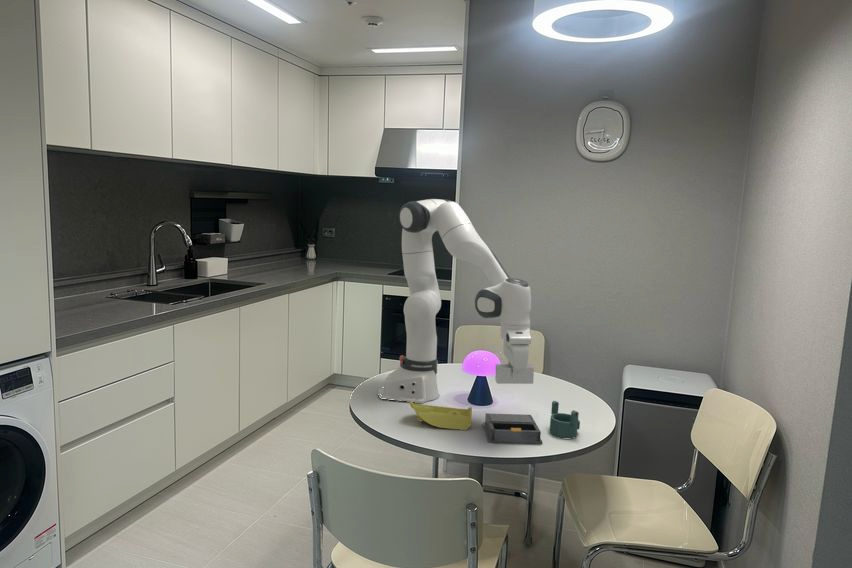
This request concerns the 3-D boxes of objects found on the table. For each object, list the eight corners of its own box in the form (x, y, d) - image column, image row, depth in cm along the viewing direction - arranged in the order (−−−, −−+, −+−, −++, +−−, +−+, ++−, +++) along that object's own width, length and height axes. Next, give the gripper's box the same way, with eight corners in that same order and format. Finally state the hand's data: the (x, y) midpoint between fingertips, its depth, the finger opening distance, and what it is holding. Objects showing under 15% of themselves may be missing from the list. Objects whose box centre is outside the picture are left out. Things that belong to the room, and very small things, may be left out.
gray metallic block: (497, 383, 168) (497, 367, 167) (495, 380, 172) (495, 364, 171) (533, 383, 168) (533, 367, 168) (530, 380, 172) (531, 364, 171)
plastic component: (468, 409, 185) (472, 406, 175) (466, 432, 182) (470, 430, 173) (409, 403, 184) (410, 400, 175) (406, 426, 182) (407, 424, 172)
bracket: (575, 441, 168) (578, 412, 167) (545, 435, 172) (547, 407, 170) (580, 431, 176) (582, 404, 175) (551, 425, 180) (553, 399, 179)
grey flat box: (488, 442, 164) (489, 428, 163) (482, 424, 178) (483, 411, 177) (542, 444, 164) (543, 430, 164) (532, 426, 178) (533, 413, 178)
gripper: (499, 325, 178) (498, 367, 180) (510, 339, 158) (509, 386, 160) (518, 325, 178) (517, 367, 180) (532, 339, 158) (531, 386, 160)
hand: (513, 376), depth 170 cm, fingers closed on gray metallic block, 4 cm apart
